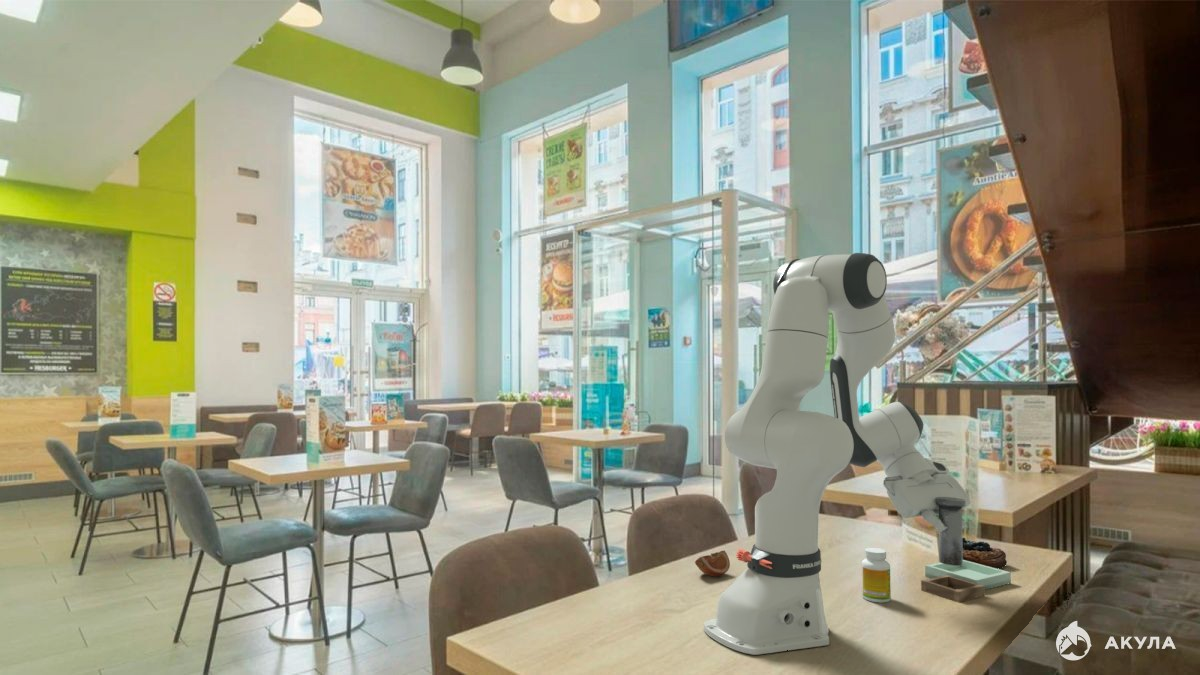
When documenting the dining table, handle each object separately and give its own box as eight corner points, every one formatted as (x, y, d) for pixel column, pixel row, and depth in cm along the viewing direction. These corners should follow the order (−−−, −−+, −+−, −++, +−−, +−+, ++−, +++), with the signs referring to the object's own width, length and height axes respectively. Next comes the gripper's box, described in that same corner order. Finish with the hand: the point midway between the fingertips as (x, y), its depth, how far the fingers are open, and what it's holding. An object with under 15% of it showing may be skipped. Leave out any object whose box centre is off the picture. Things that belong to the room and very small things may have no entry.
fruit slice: (709, 582, 148) (709, 559, 148) (687, 575, 153) (687, 552, 154) (735, 575, 153) (735, 553, 153) (713, 568, 159) (713, 546, 159)
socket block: (958, 602, 136) (958, 592, 136) (921, 590, 144) (921, 580, 144) (984, 595, 140) (984, 585, 140) (946, 584, 147) (946, 574, 148)
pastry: (968, 555, 171) (968, 531, 171) (1015, 568, 160) (1014, 543, 161) (937, 560, 167) (937, 536, 167) (983, 574, 156) (982, 548, 156)
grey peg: (954, 567, 138) (954, 502, 139) (929, 560, 143) (929, 498, 144) (972, 564, 141) (971, 500, 141) (946, 557, 146) (946, 496, 146)
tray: (976, 592, 142) (976, 580, 142) (925, 576, 153) (925, 565, 153) (1010, 583, 148) (1010, 572, 148) (959, 569, 159) (958, 558, 159)
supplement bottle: (893, 604, 135) (892, 554, 135) (864, 602, 136) (864, 552, 136) (887, 595, 140) (886, 547, 141) (860, 593, 141) (859, 546, 142)
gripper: (888, 468, 144) (930, 525, 135) (950, 464, 154) (993, 516, 145) (871, 486, 148) (910, 543, 139) (932, 481, 157) (973, 533, 148)
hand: (953, 529), depth 142 cm, fingers closed on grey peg, 4 cm apart
